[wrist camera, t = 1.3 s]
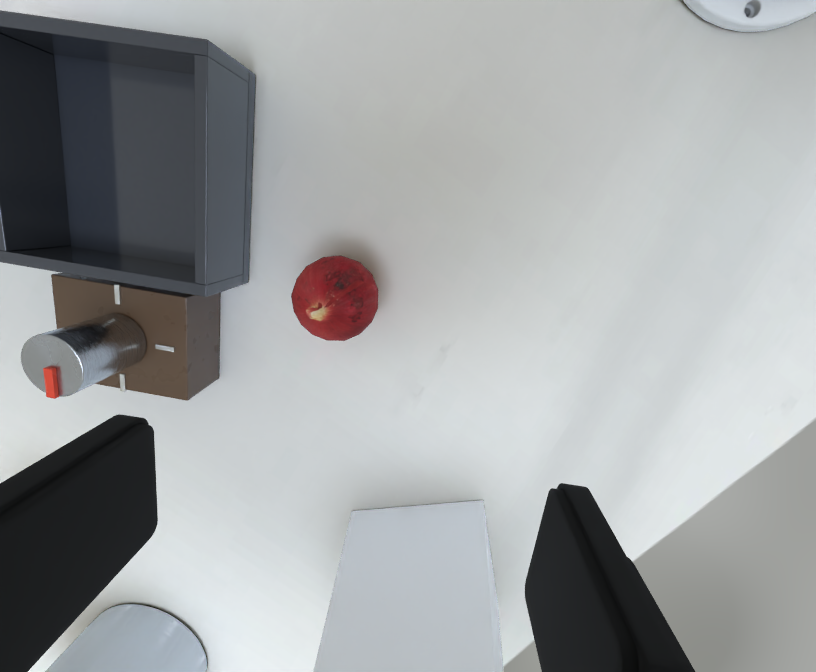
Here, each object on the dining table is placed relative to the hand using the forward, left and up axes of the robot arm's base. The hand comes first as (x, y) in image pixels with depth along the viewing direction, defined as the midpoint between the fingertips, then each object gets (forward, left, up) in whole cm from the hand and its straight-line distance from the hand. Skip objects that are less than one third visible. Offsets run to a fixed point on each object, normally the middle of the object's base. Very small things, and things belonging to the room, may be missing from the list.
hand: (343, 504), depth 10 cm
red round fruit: (0, -5, -24) cm, 24 cm away
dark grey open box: (-7, -21, -23) cm, 32 cm away
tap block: (+5, -21, -23) cm, 32 cm away
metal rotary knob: (+5, -21, -19) cm, 28 cm away
